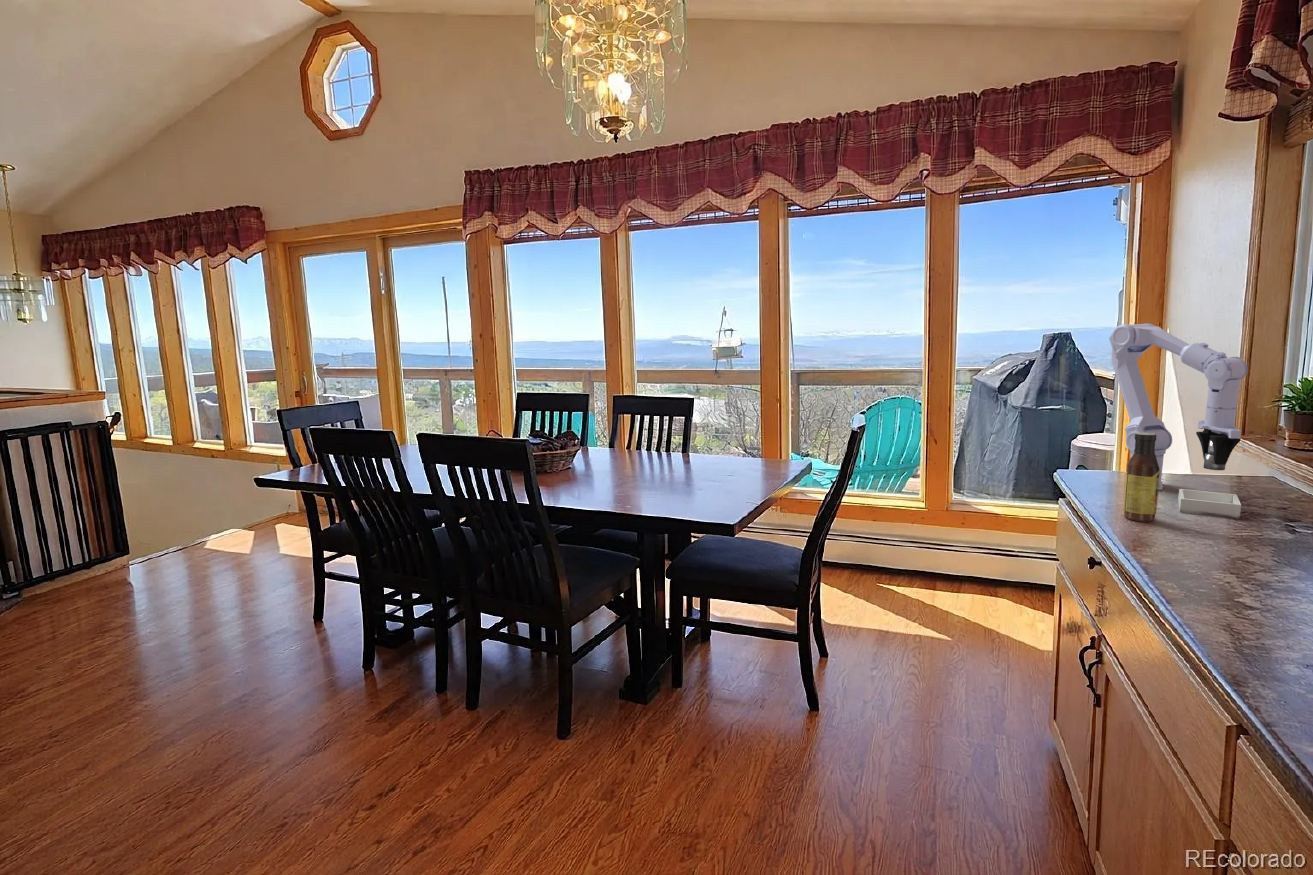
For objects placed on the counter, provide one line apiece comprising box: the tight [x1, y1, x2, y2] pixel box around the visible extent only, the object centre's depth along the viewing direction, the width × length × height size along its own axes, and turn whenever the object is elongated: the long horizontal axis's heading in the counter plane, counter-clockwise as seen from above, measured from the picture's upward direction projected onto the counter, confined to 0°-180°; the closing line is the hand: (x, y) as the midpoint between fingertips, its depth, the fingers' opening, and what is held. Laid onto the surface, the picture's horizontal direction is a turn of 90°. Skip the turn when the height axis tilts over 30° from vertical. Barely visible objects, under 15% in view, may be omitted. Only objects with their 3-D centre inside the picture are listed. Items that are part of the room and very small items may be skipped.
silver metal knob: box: [1203, 439, 1227, 471], centre depth 172 cm, size 4×4×7 cm
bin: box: [1177, 488, 1242, 520], centre depth 167 cm, size 11×11×3 cm
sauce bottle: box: [1123, 433, 1160, 522], centre depth 160 cm, size 7×6×20 cm
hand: (1214, 462), depth 172 cm, fingers closed on silver metal knob, 4 cm apart
